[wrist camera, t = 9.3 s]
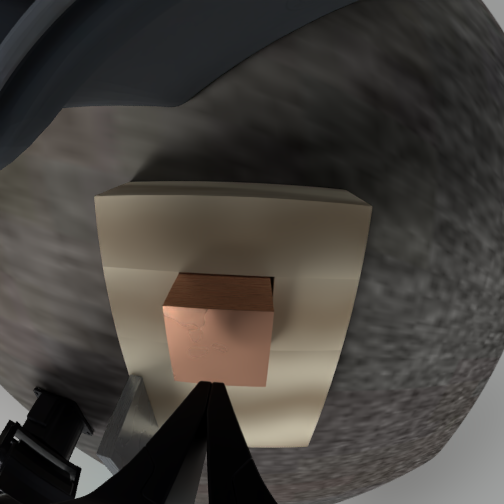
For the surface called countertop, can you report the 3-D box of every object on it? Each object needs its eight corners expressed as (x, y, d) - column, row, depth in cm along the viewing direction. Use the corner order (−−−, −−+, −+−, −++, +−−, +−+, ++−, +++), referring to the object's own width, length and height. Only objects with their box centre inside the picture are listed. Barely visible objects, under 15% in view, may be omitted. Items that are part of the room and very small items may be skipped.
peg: (261, 305, 18) (265, 386, 11) (197, 302, 18) (174, 380, 11) (266, 245, 16) (273, 311, 10) (195, 242, 16) (162, 305, 10)
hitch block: (302, 408, 22) (307, 446, 18) (162, 400, 22) (151, 435, 18) (345, 189, 15) (372, 206, 11) (129, 182, 15) (94, 196, 11)
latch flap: (141, 496, 12) (129, 493, 12) (159, 429, 17) (149, 427, 17) (110, 458, 9) (96, 454, 9) (142, 376, 15) (130, 374, 15)
